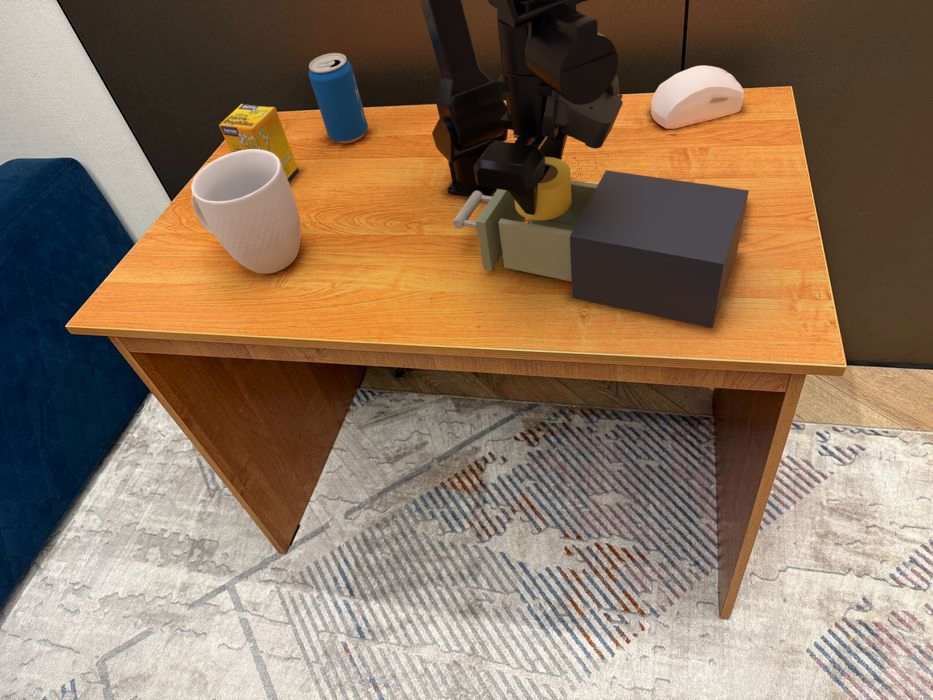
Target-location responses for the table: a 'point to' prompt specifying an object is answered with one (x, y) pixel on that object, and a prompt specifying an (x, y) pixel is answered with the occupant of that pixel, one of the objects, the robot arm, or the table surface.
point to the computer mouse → (696, 97)
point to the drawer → (525, 233)
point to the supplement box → (259, 134)
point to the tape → (552, 192)
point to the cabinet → (657, 246)
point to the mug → (249, 209)
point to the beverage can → (338, 97)
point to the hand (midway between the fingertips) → (541, 195)
